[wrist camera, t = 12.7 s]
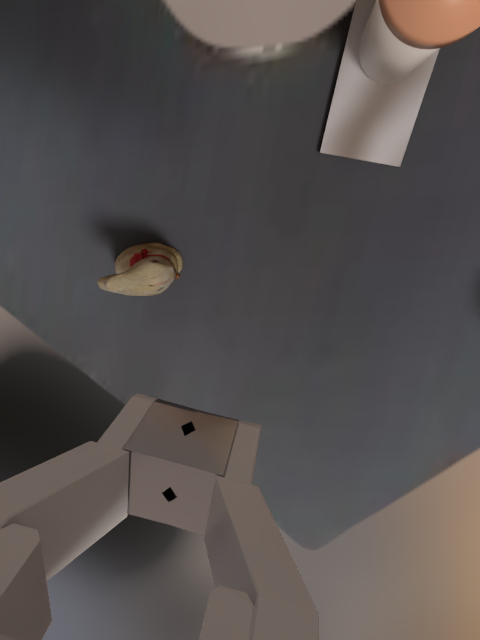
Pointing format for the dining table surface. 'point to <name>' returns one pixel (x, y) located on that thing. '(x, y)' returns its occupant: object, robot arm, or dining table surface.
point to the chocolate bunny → (144, 270)
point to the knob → (412, 34)
